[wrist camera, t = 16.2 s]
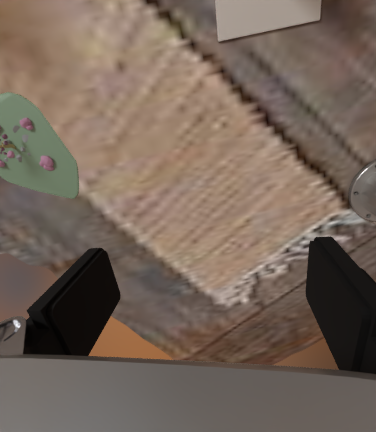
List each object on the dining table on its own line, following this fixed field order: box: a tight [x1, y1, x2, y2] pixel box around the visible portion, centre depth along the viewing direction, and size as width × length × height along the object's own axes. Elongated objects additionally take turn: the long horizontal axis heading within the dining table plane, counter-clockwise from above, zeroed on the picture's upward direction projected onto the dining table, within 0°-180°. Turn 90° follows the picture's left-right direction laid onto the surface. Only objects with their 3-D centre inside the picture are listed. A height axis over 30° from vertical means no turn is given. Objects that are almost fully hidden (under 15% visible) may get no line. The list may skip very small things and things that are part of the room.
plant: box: [0, 92, 79, 199], centre depth 45 cm, size 25×21×9 cm
